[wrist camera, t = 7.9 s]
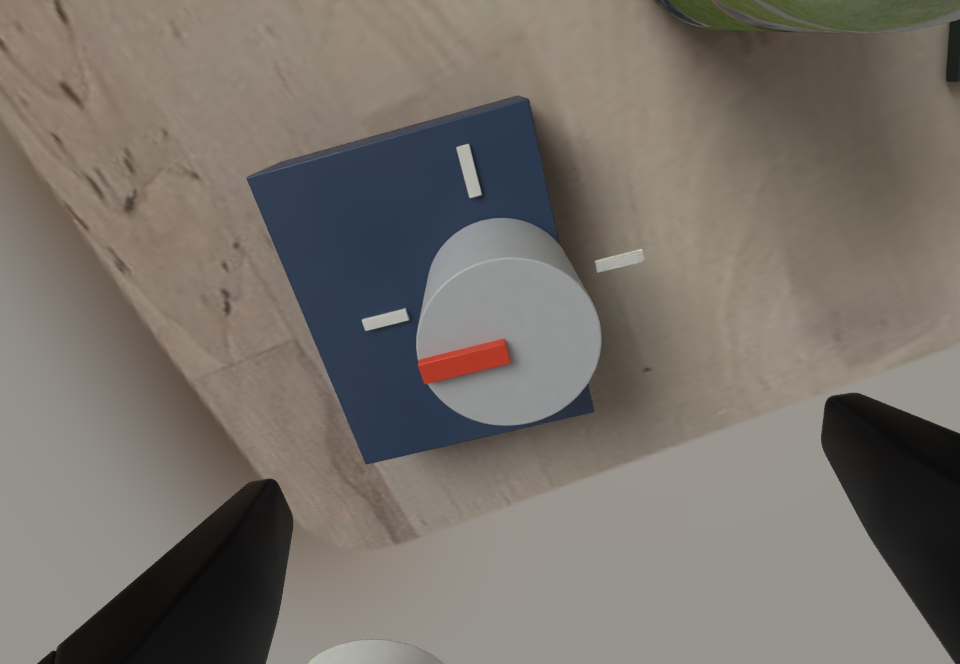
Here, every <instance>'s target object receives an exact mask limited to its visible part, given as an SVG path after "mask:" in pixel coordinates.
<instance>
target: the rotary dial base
mask: <svg viewBox="0 0 960 664" xmlns="http://www.w3.org/2000/svg"><path fill="white" fill-rule="evenodd" d="M247 181H248V183H249V185H250V188H251V190H252V193H253V195H254V197H255V200H256V202H257V205H258V207H259V209H260V212H261V214H262V217H263V219H264V221H265V224H266V226H267V229H268V231H269V233H270V236H271V238H272V241H273V243H274V245H275V248H276V250H277V253H278V255H279V257H280V260H281V262H282V265H283V267H284V269H285V272H286V274H287V277H288V279H289V281H290V284H291V286H292V289H293V291H294V293H295V296H296V298H297V301H298V303H299V305H300V308H301V310H302V313H303V315H304V317H305V320H306V322H307V325H308V327H309V329H310V332H311V334H312V337H313V339H314V341H315V344H316V346H317V349H318V351H319V353H320V356H321V358H322V361H323V363H324V365H325V368H326V370H327V373H328V375H329V377H330V380H331V382H332V385H333V387H334V389H335V392H336V394H337V396H338V399H339V401H340V404H341V406H342V408H343V411H344V413H345V416H346V418H347V420H348V423H349V425H350V428H351V430H352V432H353V435H354V437H355V440H356V442H357V444H358V447H359V449H360V452H361V454H362V456H363V459H364V461H365V464H370V463H375V462H379V461H383V460H388V459H392V458H396V457H401V456H405V455H409V454H414V453H418V452H422V451H427V450H431V449H435V448H440V447H444V446H449V445H453V444H457V443H462V442H466V441H470V440H475V439H479V438H483V437H488V436H492V435H496V434H501V433H505V432H509V431H514V430H518V429H522V428H527V427H531V426H535V425H540V424H544V423H548V422H553V421H557V420H561V419H566V418H570V417H574V416H579V415H583V414H587V413H592V412H594V408H593V403H592V399H591V394H590V389H589V384H587V386H586V387H585V388H584V389H583V391H582V392H581V393H580V394H579V395H578V396H577V397H576V398H575V399H574V400H573V401H572V402H571V403H570V404H568V405H567V406H566V407H564V408H563V409H562V410H560V411H558V412H556V413H555V414H553V415H551V416H549V417H546V418H544V419H541V420H538V421H535V422H532V423H527V424H522V425H511V426H502V425H491V424H485V423H482V422H478V421H474V420H472V419H469V418H467V417H465V416H463V415H461V414H459V413H457V412H455V411H454V410H452V409H451V408H450V407H448V406H447V405H446V404H445V403H443V402H442V401H441V400H440V399H439V398H438V397H437V396H436V394H435V393H434V392H433V391H432V389H431V388H430V387H429V385H428V384H424V381H423V378H422V376H421V373H420V370H419V367H418V358H417V350H416V336H417V330H418V325H419V320H420V314H421V309H422V304H423V299H424V294H425V289H426V284H427V279H428V274H429V271H430V268H431V264H432V262H433V260H434V258H435V256H436V254H437V253H438V251H439V250H440V248H441V247H442V246H443V245H444V244H445V242H446V241H447V240H448V239H449V238H451V237H452V236H453V235H454V234H455V233H457V232H458V231H460V230H461V229H463V228H465V227H467V226H469V225H471V224H473V223H476V222H479V221H482V220H487V219H493V218H511V219H517V220H522V221H525V222H528V223H531V224H533V225H535V226H537V227H539V228H541V229H542V230H544V231H545V232H547V233H548V234H549V235H550V236H551V237H552V238H554V239H555V240H556V241H557V243H558V244H559V241H558V236H557V231H556V226H555V222H554V217H553V212H552V207H551V202H550V198H549V193H548V188H547V183H546V179H545V174H544V169H543V164H542V159H541V155H540V150H539V145H538V140H537V135H536V131H535V126H534V121H533V116H532V112H531V107H530V102H529V99H527V98H524V97H521V96H515V97H511V98H508V99H504V100H501V101H497V102H494V103H490V104H486V105H483V106H479V107H476V108H472V109H469V110H465V111H461V112H458V113H454V114H451V115H447V116H444V117H440V118H436V119H433V120H429V121H426V122H422V123H419V124H415V125H411V126H408V127H404V128H401V129H397V130H394V131H390V132H386V133H383V134H379V135H376V136H372V137H369V138H365V139H362V140H358V141H354V142H351V143H347V144H344V145H340V146H337V147H333V148H329V149H326V150H322V151H319V152H315V153H312V154H308V155H304V156H301V157H297V158H294V159H290V160H287V161H283V162H279V163H277V164H275V165H273V166H270V167H268V168H266V169H264V170H261V171H259V172H257V173H255V174H252V175H250V176H248V177H247ZM643 261H644V256H643V250H642V249H638V250H634V251H630V252H626V253H622V254H618V255H614V256H610V257H606V258H602V259H598V260H595V267H596V271H597V273H600V272H604V271H608V270H612V269H616V268H620V267H624V266H628V265H632V264H636V263H640V262H643Z"/></svg>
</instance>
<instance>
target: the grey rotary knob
mask: <svg viewBox="0 0 960 664" xmlns="http://www.w3.org/2000/svg"><path fill="white" fill-rule="evenodd" d="M601 347H602V332H601V324H600V320H599V317H598V313H597V311H596V308H595V306H594V304H593V302H592V300H591V298H590V297H589V295H588V293H587V291H586V289H585V288H584V286H583V284H582V282H581V280H580V279H579V277H578V275H577V273H576V272H575V270H574V268H573V266H572V264H571V263H570V261H569V259H568V257H567V256H566V254H565V252H564V251H563V249H562V247H561V246H560V245H559V244H558V243H557V241H556V240H555V239H554V238H552V237H551V236H550V235H549V234H548V233H547V232H545V231H544V230H542V229H541V228H539V227H537V226H535V225H533V224H531V223H528V222H525V221H522V220H517V219H511V218H493V219H487V220H482V221H479V222H476V223H473V224H471V225H469V226H467V227H465V228H463V229H461V230H460V231H458V232H457V233H455V234H454V235H453V236H452V237H451V238H449V239H448V240H447V241H446V242H445V244H444V245H443V246H442V247H441V248H440V250H439V251H438V253H437V254H436V256H435V258H434V260H433V262H432V264H431V268H430V271H429V274H428V279H427V284H426V289H425V294H424V299H423V304H422V309H421V314H420V320H419V325H418V330H417V336H416V350H417V358H418V367H419V370H420V373H421V376H422V378H423V381H424V384H428V385H429V387H430V388H431V389H432V391H433V392H434V393H435V394H436V396H437V397H438V398H439V399H440V400H441V401H442V402H443V403H445V404H446V405H447V406H448V407H450V408H451V409H452V410H454V411H455V412H457V413H459V414H461V415H463V416H465V417H467V418H469V419H472V420H474V421H478V422H482V423H485V424H491V425H502V426H511V425H522V424H527V423H532V422H535V421H538V420H541V419H544V418H546V417H549V416H551V415H553V414H555V413H556V412H558V411H560V410H562V409H563V408H564V407H566V406H567V405H568V404H570V403H571V402H572V401H573V400H574V399H575V398H576V397H577V396H578V395H579V394H580V393H581V392H582V391H583V389H584V388H585V387H586V386H587V384H588V382H589V381H590V379H591V378H592V376H593V374H594V371H595V369H596V367H597V364H598V361H599V358H600V352H601Z"/></svg>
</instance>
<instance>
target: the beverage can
mask: <svg viewBox="0 0 960 664" xmlns="http://www.w3.org/2000/svg"><path fill="white" fill-rule="evenodd" d="M654 1H656V2H657V3H658V4H659V5H660V6H661V7H662V8H663V9H664V10H665V11H666V12H667V13H669V14H671V15H672V16H674V17H676V18H677V19H679V20H681V21H682V22H684V23H687V24H690V25H693V26H696V27H699V28H704V29H711V30H720V31H768V32H816V33H864V34H873V33H889V32H905V31H914V30H918V29H922V28H927V27H931V26H935V25H939V24H944V23H948V22H952V21H956V20H958V19H960V0H654Z"/></svg>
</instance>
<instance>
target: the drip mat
mask: <svg viewBox="0 0 960 664" xmlns="http://www.w3.org/2000/svg"><path fill="white" fill-rule="evenodd" d="M947 81H948V82H959V81H960V19H958V20H956V21H952V22H950V35H949V51H948V66H947Z"/></svg>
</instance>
